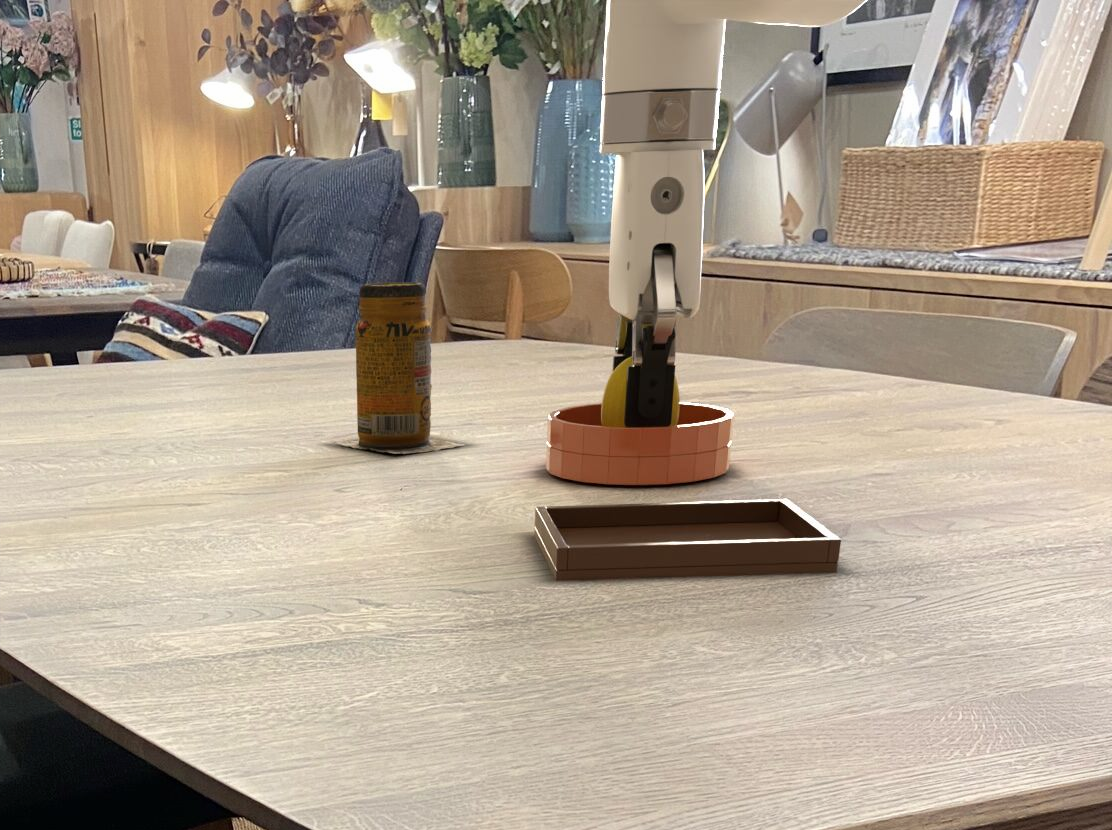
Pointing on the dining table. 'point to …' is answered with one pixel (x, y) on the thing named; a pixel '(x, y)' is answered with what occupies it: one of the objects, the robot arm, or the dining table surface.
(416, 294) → the condiment
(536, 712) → the dining table surface
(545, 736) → the dining table surface
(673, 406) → the lemon
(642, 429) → the bowl
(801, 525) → the tray
